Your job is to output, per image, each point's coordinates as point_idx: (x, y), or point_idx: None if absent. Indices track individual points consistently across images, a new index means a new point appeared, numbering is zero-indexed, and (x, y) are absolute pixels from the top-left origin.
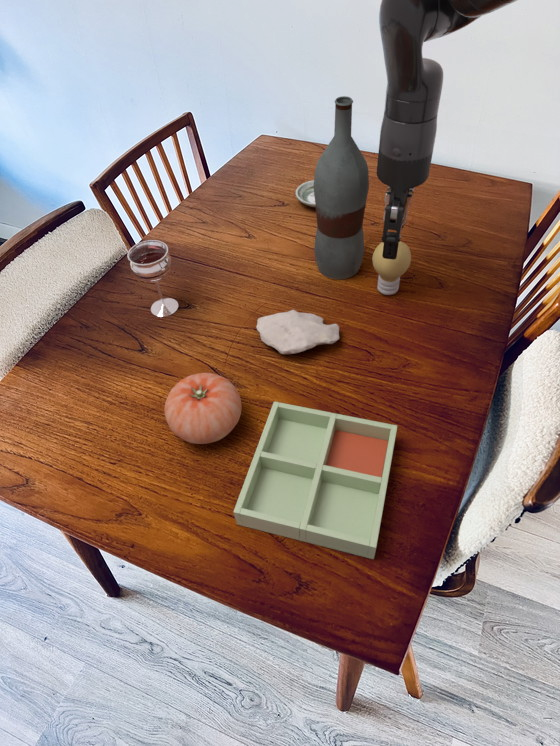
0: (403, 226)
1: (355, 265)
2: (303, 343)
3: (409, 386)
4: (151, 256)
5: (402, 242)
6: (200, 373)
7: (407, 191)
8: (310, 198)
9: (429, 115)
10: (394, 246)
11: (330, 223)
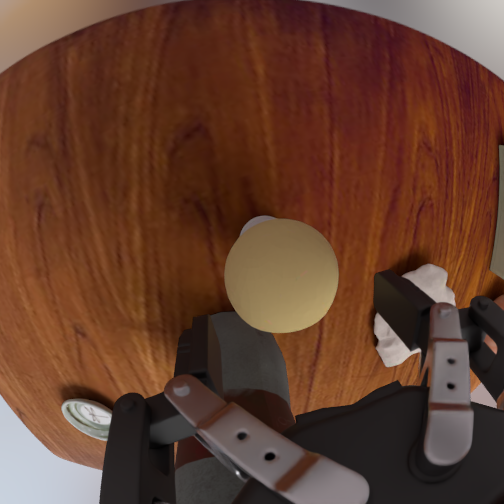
0: (208, 317)
1: (252, 327)
2: (451, 301)
3: (452, 136)
4: None
5: (260, 282)
6: (496, 351)
7: (400, 489)
8: (104, 421)
9: None
10: (432, 300)
11: None
